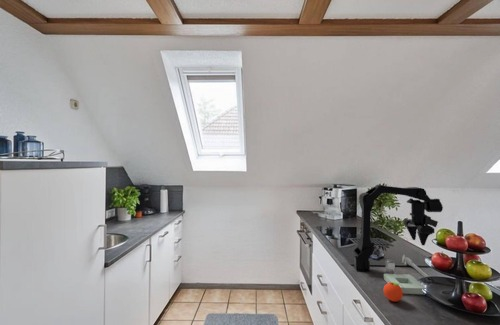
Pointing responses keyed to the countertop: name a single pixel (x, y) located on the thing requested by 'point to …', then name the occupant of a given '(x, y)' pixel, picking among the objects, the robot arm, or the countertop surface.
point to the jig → (405, 283)
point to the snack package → (376, 253)
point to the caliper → (407, 261)
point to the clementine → (393, 291)
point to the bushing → (390, 266)
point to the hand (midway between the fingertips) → (418, 242)
